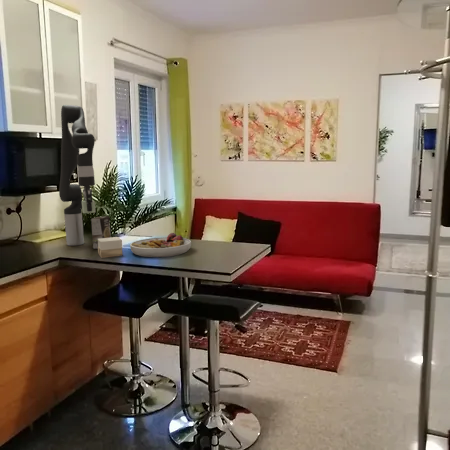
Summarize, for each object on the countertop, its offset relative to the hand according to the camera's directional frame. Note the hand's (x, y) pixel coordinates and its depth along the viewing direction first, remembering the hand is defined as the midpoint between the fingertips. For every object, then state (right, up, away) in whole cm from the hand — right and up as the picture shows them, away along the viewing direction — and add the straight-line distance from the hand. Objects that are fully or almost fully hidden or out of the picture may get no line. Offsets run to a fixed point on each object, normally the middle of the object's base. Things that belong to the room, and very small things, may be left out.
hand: (88, 210), depth 225 cm
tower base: (+9, -22, +3) cm, 24 cm away
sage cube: (0, -1, 0) cm, 1 cm away
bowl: (+34, -21, +7) cm, 40 cm away
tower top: (+10, -18, +3) cm, 21 cm away
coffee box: (0, -19, +23) cm, 30 cm away
